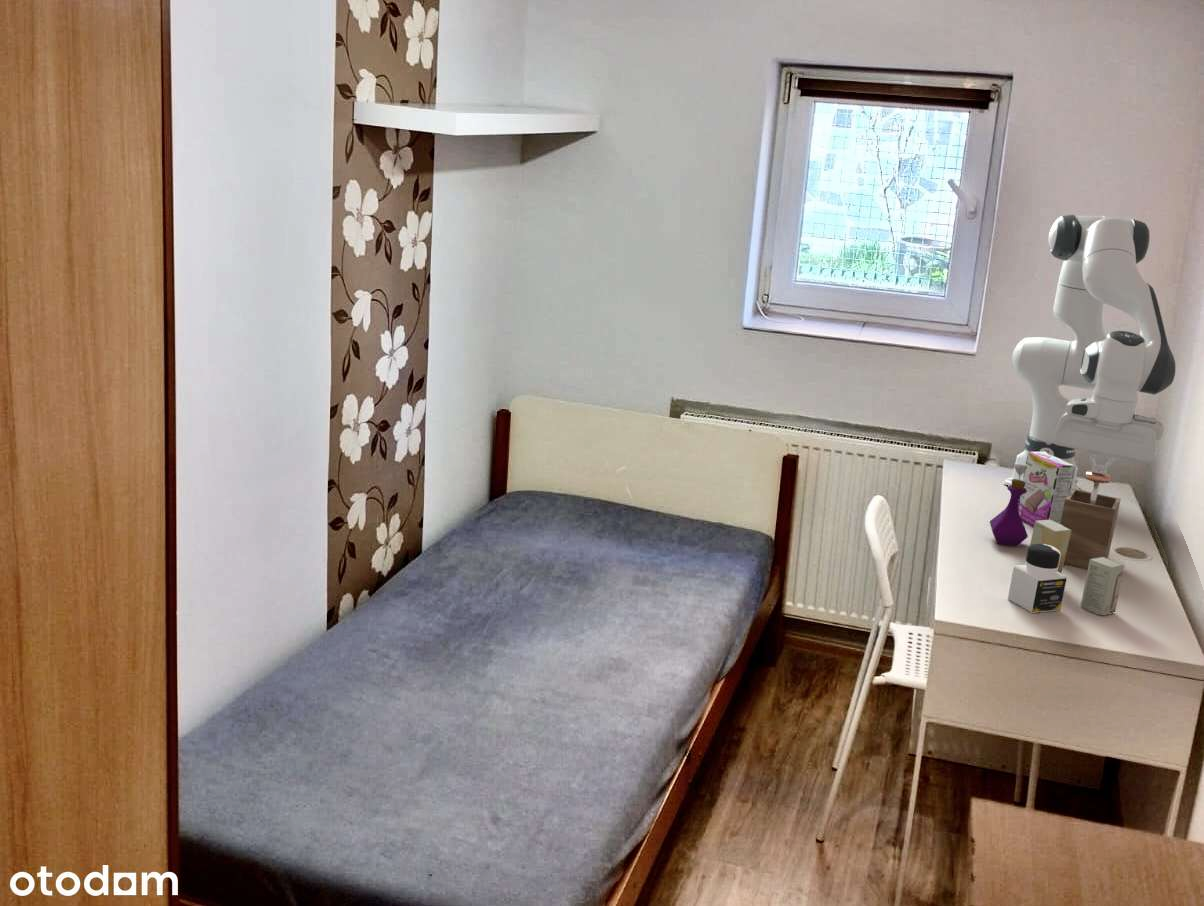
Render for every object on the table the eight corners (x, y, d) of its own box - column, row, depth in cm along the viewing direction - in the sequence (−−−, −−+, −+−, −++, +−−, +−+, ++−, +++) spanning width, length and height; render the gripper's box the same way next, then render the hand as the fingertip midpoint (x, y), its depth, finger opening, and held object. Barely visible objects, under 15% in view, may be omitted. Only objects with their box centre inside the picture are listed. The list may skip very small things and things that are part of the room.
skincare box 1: (1022, 575, 258) (1033, 519, 254) (1038, 574, 260) (1049, 518, 256) (1044, 587, 252) (1055, 530, 249) (1060, 586, 254) (1072, 529, 251)
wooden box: (1059, 548, 276) (1072, 488, 273) (1107, 559, 272) (1120, 498, 268) (1052, 561, 268) (1065, 499, 264) (1101, 573, 264) (1115, 510, 260)
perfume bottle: (1025, 550, 273) (1040, 472, 268) (989, 545, 274) (1004, 467, 269) (1021, 539, 280) (1036, 462, 275) (987, 534, 282) (1001, 458, 277)
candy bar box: (1014, 517, 296) (1026, 451, 291) (1031, 516, 297) (1044, 450, 293) (1045, 534, 286) (1058, 465, 281) (1062, 533, 287) (1076, 465, 283)
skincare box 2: (1115, 613, 242) (1126, 565, 239) (1101, 617, 240) (1112, 567, 237) (1093, 603, 246) (1103, 555, 243) (1078, 606, 244) (1089, 558, 241)
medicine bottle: (1032, 614, 238) (1043, 554, 235) (1006, 599, 244) (1017, 541, 241) (1060, 610, 241) (1072, 552, 238) (1035, 596, 247) (1046, 539, 244)
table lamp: (1069, 524, 273) (1081, 466, 270) (1107, 533, 270) (1120, 473, 266) (1064, 534, 267) (1076, 474, 263) (1102, 542, 263) (1115, 482, 260)
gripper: (1166, 417, 259) (1152, 481, 263) (1063, 398, 268) (1051, 460, 272) (1164, 422, 254) (1149, 488, 257) (1059, 403, 262) (1046, 466, 266)
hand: (1098, 473), depth 265 cm, fingers closed, pressing on table lamp
